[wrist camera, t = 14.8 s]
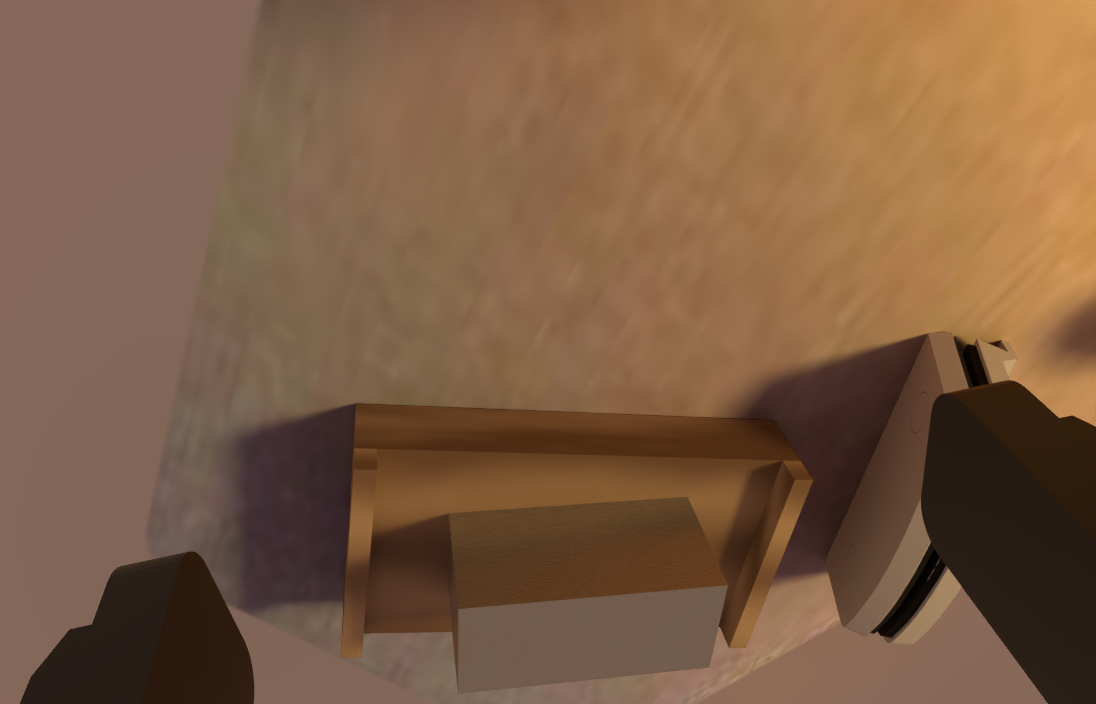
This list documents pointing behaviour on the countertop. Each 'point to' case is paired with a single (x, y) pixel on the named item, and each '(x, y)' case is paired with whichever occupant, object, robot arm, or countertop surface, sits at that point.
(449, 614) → the stand
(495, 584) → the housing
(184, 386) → the countertop surface
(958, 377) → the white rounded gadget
